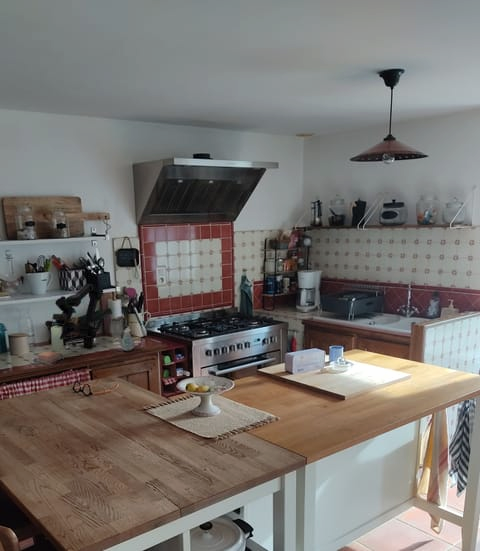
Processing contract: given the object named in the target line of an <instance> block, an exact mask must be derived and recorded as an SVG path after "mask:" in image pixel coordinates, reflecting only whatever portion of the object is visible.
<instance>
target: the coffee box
mask: <svg viewBox="0 0 480 551" xmlns="http://www.w3.org/2000/svg"><path fill="white" fill-rule="evenodd" d="M126 328H128V329H129V326H128V317H127V316H117V317H114V318H112V319H111V329H112V331H111V332H112V344H113V343H114V342H113V340H114V339H123V337H124V334H125V333H124V330H126ZM120 343H121V344H122V342H120Z"/></svg>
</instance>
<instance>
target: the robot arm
mask: <svg viewBox="0 0 480 551" xmlns="http://www.w3.org/2000/svg"><path fill="white" fill-rule="evenodd" d="M103 294H104V289H103V288H102V287H101V286H97V285H94V284H89V283H86V284H84V286H83V287H82V288H80V289H79V290H78V291H77V292H76V293H75V294H72V295H69V296H67V297H66V296H61V297H59V298H58V299H57V300H55V304H54V305H56V307H57V308H58V309H59V310H60V311H61V312H62V313H53V314H52V320H46V321H45V323H44V326H45V327H47V329H49V330H50V331H49V332H50V336H49V337H50V338H49V339H51V340H52V338H51V327H53V326H55V325H59V326H62V328H63V329H62V334H61V336H60V339H63V340H64V338H65V337H66V336H68V335H69V334H70V333H73V332H78V335H79V338H82V344H83V345H82V346H81V347H80V348H84V349H92V348H94V347H96V344H94V339H95V338H96V337H97V332H96V331H95V330H94V328H95V327H94V324H93V322H94V319H95V318H94V317H95V313H96V310H97V305H98V301H100V300H101V299H102V296H103ZM87 295H88V298H89V302H88V305H87V310H86V313H85V317H84V321H83V322H80V324H79V326H78V325H77V324H76V323H75V322H74V321H73V322H71V321H72V319H71V318H72V316H73V315H74V314H76V312H77V311H76V308H78V307H79V306H80V305H81V303H82V300H83V299H84V298H85V297H87ZM74 307H76V308H74ZM54 321H55V322H54Z"/></svg>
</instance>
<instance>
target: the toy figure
mask: <svg viewBox="0 0 480 551" xmlns="http://www.w3.org/2000/svg"><path fill="white" fill-rule="evenodd" d="M131 331H132V330H131V329H130V328H129V327H128V328H126V330H124V333H125V334H124V337H123V339H114V340H113V339H112V345H114V346H120V348H121V349H122V350H123V351H125V352H129V351H132V350H133V349H134V347H135V346H134V345H138V344H141V343H142V341H141V340H142V339H141V337H138V336H137V337H132V336H131V333H130V332H131ZM113 342H114V343H113ZM120 342H122V344H121V343H120Z"/></svg>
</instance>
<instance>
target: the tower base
mask: <svg viewBox="0 0 480 551" xmlns="http://www.w3.org/2000/svg"><path fill="white" fill-rule="evenodd" d="M63 358H65V357H64V356H63V355H60V352H59V351H53V350H48V351H45V352H41V353H39V354H37V357H34V358H33V360H32V362H33V363H37V362H39V363H38V364H42V363H47V364H48V363H51V362H54V361H57V360H60V359H63ZM63 360H64V359H63ZM60 361H61V360H60ZM57 362H58V361H57ZM54 363H55V362H54ZM47 364H46V365H47ZM51 364H52V363H51Z"/></svg>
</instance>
